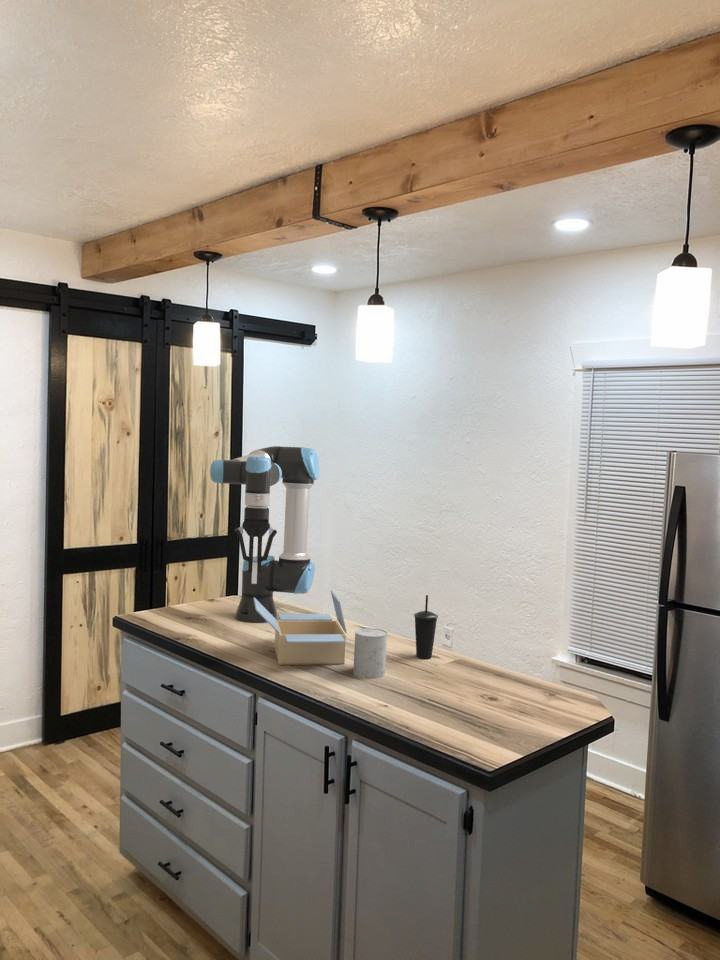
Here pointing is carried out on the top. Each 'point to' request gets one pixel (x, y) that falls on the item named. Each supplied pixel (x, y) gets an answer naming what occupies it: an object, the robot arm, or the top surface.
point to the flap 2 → (338, 611)
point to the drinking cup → (425, 632)
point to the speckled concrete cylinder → (370, 653)
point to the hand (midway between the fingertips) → (254, 582)
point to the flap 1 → (266, 615)
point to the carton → (309, 640)
